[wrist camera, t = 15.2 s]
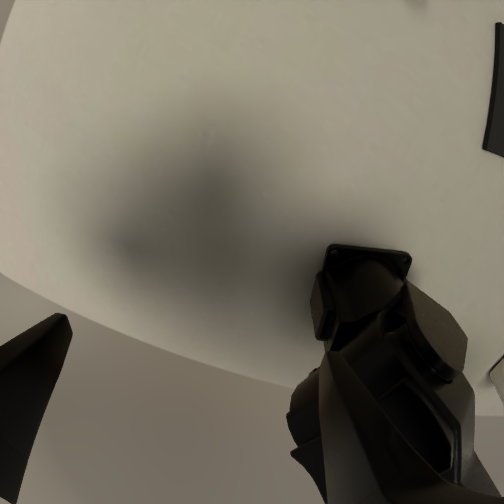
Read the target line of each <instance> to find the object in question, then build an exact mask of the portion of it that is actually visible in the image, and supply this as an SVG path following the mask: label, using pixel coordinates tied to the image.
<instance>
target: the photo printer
mask: <svg viewBox="0 0 504 504" xmlns="http://www.w3.org/2000/svg"><path fill="white" fill-rule="evenodd" d="M490 378H491V380H492V382H493V384H494V386H495V388H496V390H497V392H498V394H499V396H500V398H501V400H502V402H503V405H504V358H503V359H502V360H501V361H500V363H499V364H498V365H497V366H496V367H495V368H494V369H493V370H492V371H491V372H490Z"/></svg>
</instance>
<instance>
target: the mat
mask: <svg viewBox="0 0 504 504" xmlns="http://www.w3.org/2000/svg"><path fill="white" fill-rule="evenodd" d="M483 149H485V150H487V151H490V152H493V153H495V154H498V155H500V156H503V157H504V24H502V23H501V22H498V23H496V44H495V63H494V76H493V86H492V94H491V102H490V109H489V115H488V122H487V127H486V133H485V138H484V143H483Z"/></svg>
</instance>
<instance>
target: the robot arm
mask: <svg viewBox="0 0 504 504" xmlns="http://www.w3.org/2000/svg"><path fill="white" fill-rule="evenodd" d="M333 250H336V251H337V252H336V253H335V254H331V252H332V251H333ZM405 258H407V260H406V261H403V260H404V259H405ZM411 262H412V257H411V256H410V255H409V253H406V252H399V251H390V250H382V249H373V248H364V247H356V246H347V245H338V244H332V245H330V246H328V247H327V250H326V254H325V258H324V263H323V267H322V271H319V272H318V273H317V274H316V278H315V282H314V286H313V290H312V295H311V299H310V304H311V311H312V312H311V315H312V319H313V325H314V333H315V338H316V339H317V340H319V341H324V347H325V354H324V357H323V360H322V362H321V365H320V367H318V368H315V369H314V370H313V371H311V372H310V373H309V376H308V377H307V378H306V379H305V380H304V381H303V382H301V383H300V384H299V385H298V386H297V387H296V389H295V391H294V392H293V394H292V396H291V403H290V411H289V412H288V413H287V415H286V418H287V423H288V427H289V430H290V432H291V435H292V437H293V439H294V441H295V443H296V444H297V446H298V447H297V448H296V449H294V450H292V451H291V452H290V453H291V456H292V457H293V458H294V459H295V460H296V461H298V462H299V463H300V464H301V465H302V466H303V467H304V468H305V469H306V470H307V472H308V473H309V474H310V475H311V477H312V478H313V480H314V481H315V483H316V485H317V487H318V489H319V491H320V494H321V495H322V498H323V500H324V502H325V504H504V497H501V495H500V493H499V491H498V490H497V488H496V487H495V485H494V483H493V481H492V480H491V478H490V476H489V475H488V473H487V471H486V470H485V468H484V466H483V465H482V463H481V462H480V460H479V459H478V457H477V455H476V453H475V451H474V428H475V427H474V426H475V395H474V391H473V389H472V387H471V385H470V384H469V382H468V381H467V379H466V378H465V376H464V374H463V373H462V371H463V369H464V364H465V357H466V350H467V341H468V338H467V336H466V334H465V333H464V332H463V330H462V329H461V327H460V326H459V324H458V323H457V321H456V320H455V319H454V317H453V316H452V315H451V313H450V312H449V311H447V310H446V309H445V308H443V307H442V306H441V305H440V304H438V303H437V302H436V301H434V300H433V299H432V298H430V297H429V296H428V295H426V294H425V293H424V292H422V291H421V290H420V289H418V288H417V287H416V286H414V285H413V284H411V283H410V282H409V281H408V280H407V279H406V276H407V273H408V271H409V268H410V265H411ZM72 334H73V333H72V329H71V326H70V323H69V320H68V318H67V316H66V315H65V314H61V313H55V314H53V315H51V316H50V317H48V318H46V319H45V320H43V321H41V322H40V323H38V324H36V325H35V326H33V327H31V328H29V329H28V330H26V331H25V332H23V333H21V334H20V335H18V336H16V337H15V338H13V339H11V340H10V341H8V342H7V343H5V344H4V345H2V346H0V497H1V498H3V499H5V500H6V501H8V502H10V503H11V504H16V503H17V499H18V495H19V491H20V488H21V484H22V480H23V476H24V473H25V469H26V466H27V463H28V459H29V456H30V452H31V450H32V446H33V443H34V440H35V438H36V435H37V432H38V429H39V426H40V423H41V420H42V418H43V415H44V412H45V410H46V407H47V405H48V402H49V399H50V397H51V394H52V392H53V389H54V387H55V384H56V382H57V380H58V377H59V375H60V372H61V370H62V367H63V364H64V360H65V357H66V354H67V351H68V348H69V345H70V342H71V339H72Z"/></svg>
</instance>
